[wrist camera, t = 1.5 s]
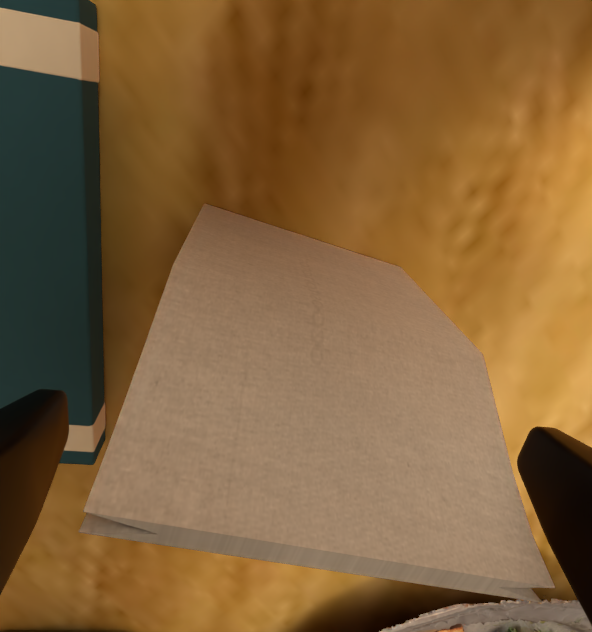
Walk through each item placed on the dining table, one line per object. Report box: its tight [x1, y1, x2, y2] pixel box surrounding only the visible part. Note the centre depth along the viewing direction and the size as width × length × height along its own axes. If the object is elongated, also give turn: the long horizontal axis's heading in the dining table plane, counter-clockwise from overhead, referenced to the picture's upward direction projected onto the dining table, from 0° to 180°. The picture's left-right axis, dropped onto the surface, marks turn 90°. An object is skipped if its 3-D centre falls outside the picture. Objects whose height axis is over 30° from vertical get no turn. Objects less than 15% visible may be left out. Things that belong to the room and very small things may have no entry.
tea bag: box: [79, 203, 555, 603], centre depth 10 cm, size 4×7×10 cm, turn 70°
